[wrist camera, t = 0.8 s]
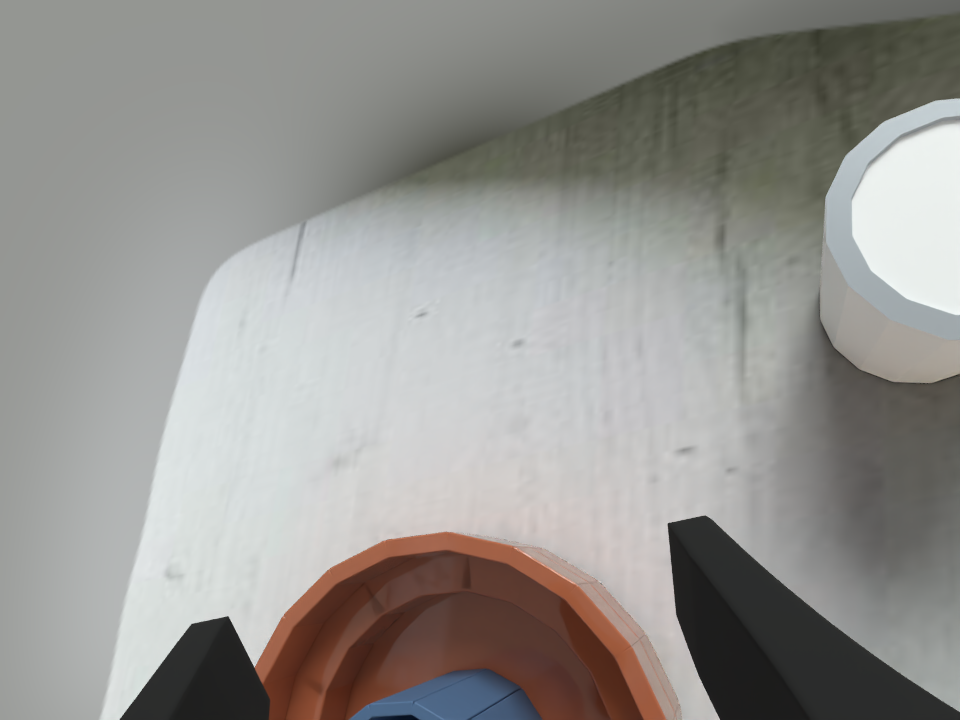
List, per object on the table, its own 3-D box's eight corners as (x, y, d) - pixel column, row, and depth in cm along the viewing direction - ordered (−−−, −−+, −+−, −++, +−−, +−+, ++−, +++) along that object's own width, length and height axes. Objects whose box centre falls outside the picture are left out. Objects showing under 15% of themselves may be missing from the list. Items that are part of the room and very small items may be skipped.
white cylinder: (780, 377, 25) (799, 312, 18) (821, 202, 26) (851, 84, 20) (1011, 424, 22) (1126, 368, 16) (1044, 227, 23) (1163, 101, 17)
